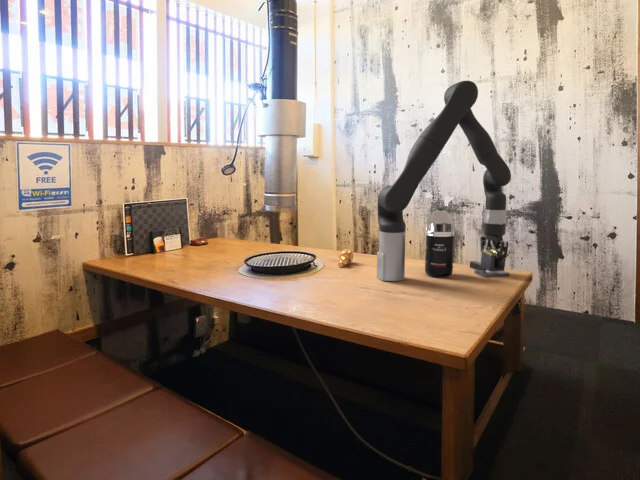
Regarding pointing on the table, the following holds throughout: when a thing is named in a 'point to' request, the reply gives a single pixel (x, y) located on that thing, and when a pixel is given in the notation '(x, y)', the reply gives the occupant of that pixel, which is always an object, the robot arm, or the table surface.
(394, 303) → the table surface
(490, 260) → the khaki matte cube
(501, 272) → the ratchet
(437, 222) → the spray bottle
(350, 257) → the figurine
